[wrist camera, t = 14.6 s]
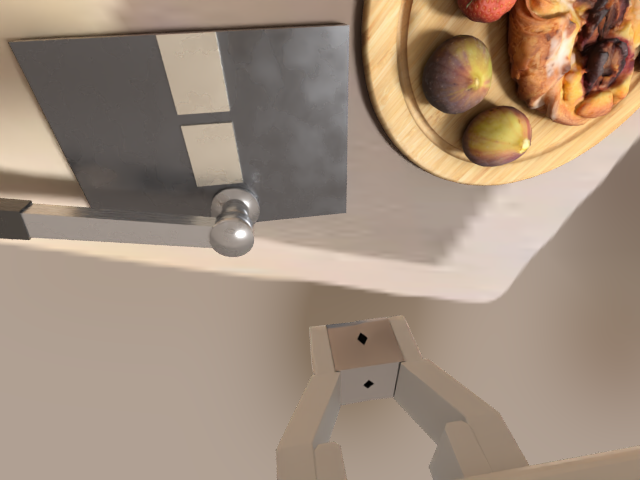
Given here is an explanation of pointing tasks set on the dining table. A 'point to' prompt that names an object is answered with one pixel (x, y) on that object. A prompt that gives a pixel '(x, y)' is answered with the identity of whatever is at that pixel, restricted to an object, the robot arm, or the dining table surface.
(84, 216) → the swing bar
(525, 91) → the wooden plate with food
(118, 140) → the board
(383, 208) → the dining table surface
